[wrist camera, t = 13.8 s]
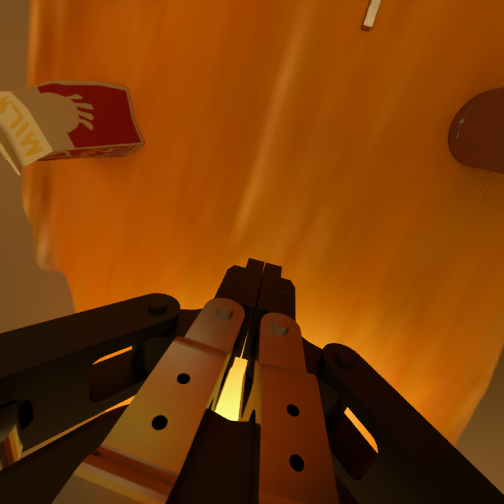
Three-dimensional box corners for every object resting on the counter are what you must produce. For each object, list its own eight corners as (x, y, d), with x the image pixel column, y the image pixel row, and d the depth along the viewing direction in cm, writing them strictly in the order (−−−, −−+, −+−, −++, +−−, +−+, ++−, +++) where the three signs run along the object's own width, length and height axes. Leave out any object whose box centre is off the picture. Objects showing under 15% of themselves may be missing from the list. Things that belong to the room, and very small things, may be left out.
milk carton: (70, 97, 41) (-107, 72, 23) (127, 84, 39) (-13, 45, 21) (93, 162, 44) (-43, 186, 26) (147, 153, 43) (42, 171, 24)
